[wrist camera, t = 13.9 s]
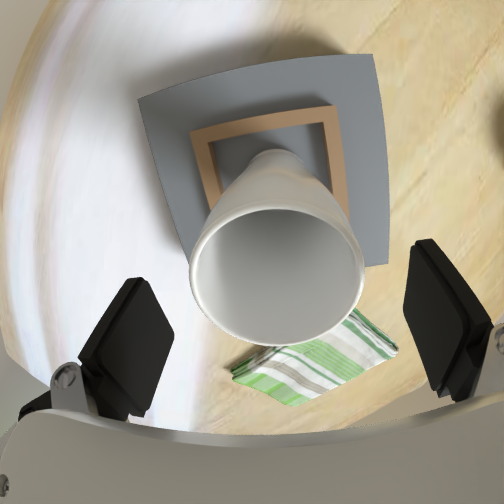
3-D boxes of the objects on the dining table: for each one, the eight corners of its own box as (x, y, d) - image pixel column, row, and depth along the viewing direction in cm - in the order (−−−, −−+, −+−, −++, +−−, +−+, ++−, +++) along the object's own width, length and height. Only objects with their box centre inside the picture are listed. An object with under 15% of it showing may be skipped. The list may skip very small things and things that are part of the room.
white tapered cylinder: (237, 136, 22) (178, 193, 9) (320, 142, 21) (388, 209, 8) (235, 212, 25) (193, 341, 12) (312, 218, 25) (343, 351, 12)
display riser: (159, 98, 25) (129, 99, 19) (356, 61, 21) (378, 51, 16) (207, 264, 34) (194, 298, 28) (374, 240, 31) (392, 271, 25)
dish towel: (398, 343, 40) (404, 359, 37) (297, 401, 50) (298, 416, 47) (336, 289, 35) (341, 307, 32) (228, 367, 45) (225, 383, 42)
